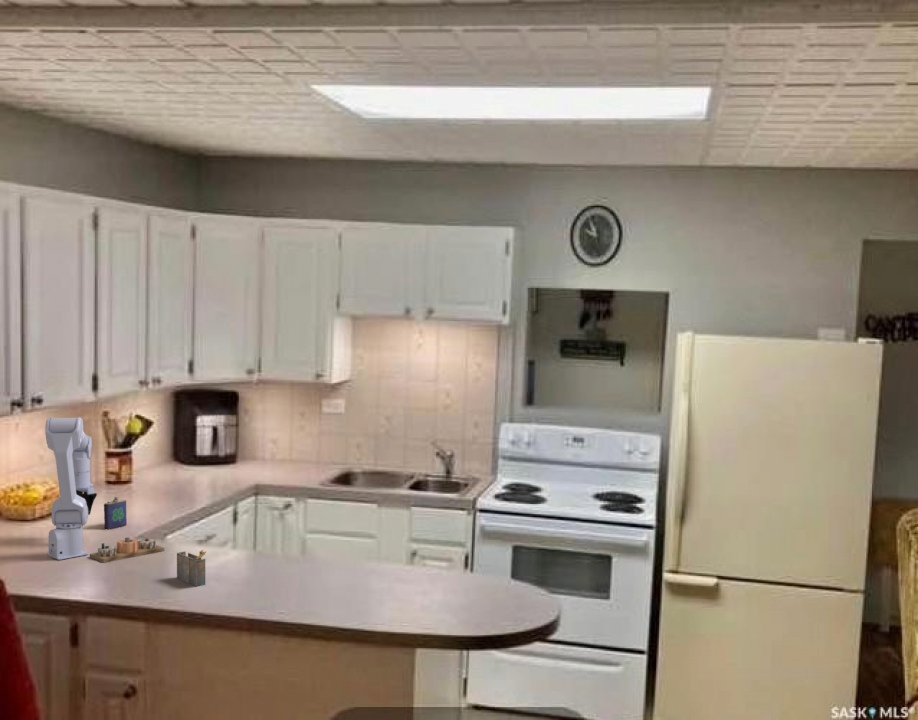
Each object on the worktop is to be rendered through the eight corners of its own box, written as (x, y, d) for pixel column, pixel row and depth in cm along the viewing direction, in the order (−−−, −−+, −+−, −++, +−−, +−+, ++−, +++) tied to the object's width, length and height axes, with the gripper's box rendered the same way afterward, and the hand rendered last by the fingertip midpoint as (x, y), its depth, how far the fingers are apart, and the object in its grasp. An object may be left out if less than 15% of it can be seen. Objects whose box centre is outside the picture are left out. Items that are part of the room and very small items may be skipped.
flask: (123, 524, 335) (123, 494, 335) (129, 525, 334) (129, 494, 334) (102, 529, 327) (102, 498, 327) (108, 530, 326) (108, 499, 325)
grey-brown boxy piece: (206, 586, 263) (206, 551, 262) (196, 588, 261) (196, 553, 260) (186, 577, 271) (186, 543, 270) (176, 579, 269) (176, 545, 268)
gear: (123, 554, 290) (123, 544, 290) (113, 550, 294) (113, 541, 294) (141, 550, 295) (141, 541, 295) (131, 547, 299) (131, 537, 299)
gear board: (103, 562, 284) (103, 546, 284) (89, 557, 290) (89, 540, 290) (164, 550, 299) (164, 535, 298) (149, 545, 305) (149, 530, 305)
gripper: (102, 473, 306) (103, 514, 307) (82, 467, 316) (82, 508, 317) (81, 475, 301) (82, 518, 302) (61, 470, 311) (61, 511, 312)
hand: (81, 513), depth 309 cm, fingers open, 7 cm apart
